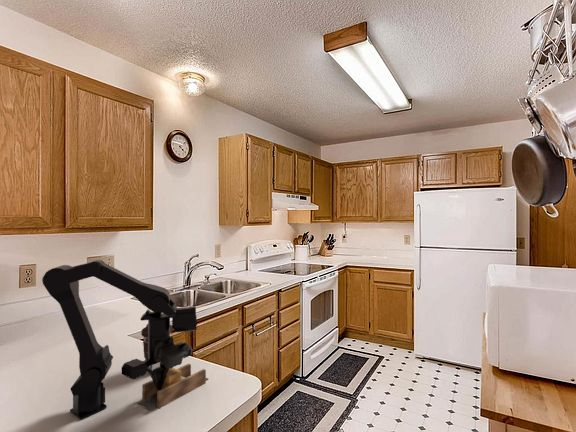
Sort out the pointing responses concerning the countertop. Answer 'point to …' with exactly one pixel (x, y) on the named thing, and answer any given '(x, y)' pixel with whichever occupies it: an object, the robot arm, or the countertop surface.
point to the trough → (171, 388)
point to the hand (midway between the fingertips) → (159, 389)
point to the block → (172, 377)
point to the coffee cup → (145, 335)
